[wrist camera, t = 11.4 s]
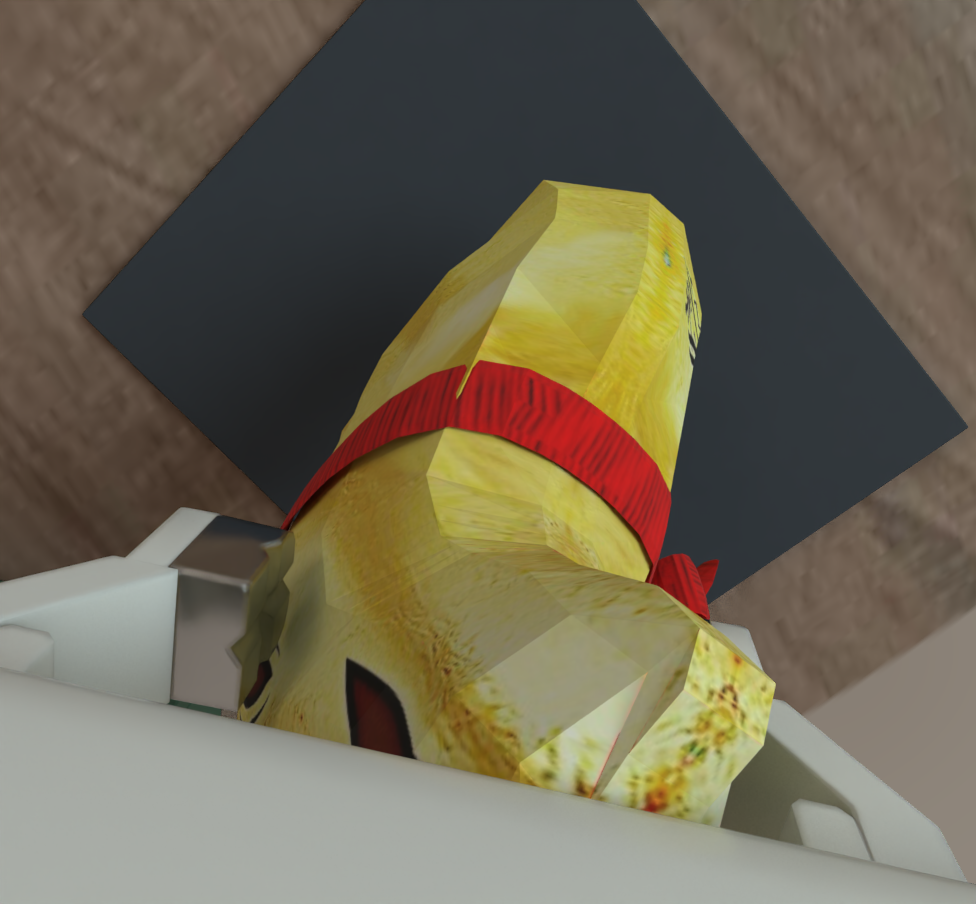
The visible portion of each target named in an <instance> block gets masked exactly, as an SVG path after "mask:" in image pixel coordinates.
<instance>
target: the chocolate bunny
mask: <svg viewBox="0 0 976 904" xmlns="http://www.w3.org/2000/svg"><path fill="white" fill-rule="evenodd" d="M701 317H702V313H701V308H700V303H699V298H698V293H697V288H696V283H695V278H694V273H693V268H692V263H691V258H690V253H689V248H688V243H687V238H686V233H685V228H684V224H683V223H682V222H681V221H680V220H679V219H678V218H676V217H675V216H674V215H673V214H672V213H671V212H670V211H669V210H668V209H666V208H665V207H664V206H663V205H662V204H661V203H660V202H659V201H658V200H657V199H655V198H654V197H653V196H652V195H651V194H646V193H639V192H631V191H624V190H616V189H609V188H601V187H594V186H586V185H578V184H571V183H563V182H556V181H548V180H543V181H542V182H541V183H540V184H539V185H538V187H537V188H536V189H535V190H534V191H533V192H532V193H531V194H530V196H529V197H528V198H527V199H526V200H525V201H524V202H523V203H522V205H521V206H520V207H519V208H518V209H517V210H516V211H515V212H514V214H513V215H512V216H511V217H510V218H509V219H508V220H507V221H506V223H505V224H504V225H503V226H502V227H501V228H500V229H499V230H498V232H497V233H496V234H495V235H494V236H493V237H492V238H491V239H490V240H489V241H488V242H487V243H486V244H484V245H483V246H482V247H480V248H479V249H478V250H476V251H475V252H474V253H472V254H471V255H470V256H469V257H467V258H466V259H465V260H463V261H462V262H461V263H459V264H458V265H457V266H455V267H454V268H453V269H451V270H450V271H449V272H448V273H447V274H446V275H445V277H444V278H443V279H442V280H441V282H440V283H439V284H438V285H437V287H436V288H435V289H434V290H433V292H432V293H431V294H430V295H429V297H428V298H427V299H426V300H425V302H424V303H423V304H422V305H421V307H420V308H419V309H418V310H417V312H416V313H415V314H414V315H413V317H412V318H411V319H410V320H409V322H408V323H407V324H406V325H405V327H404V328H403V329H402V330H401V332H400V333H399V334H398V335H397V337H396V338H395V339H394V340H393V342H392V343H391V344H390V345H389V347H388V348H387V349H386V350H385V352H384V353H383V354H382V356H381V358H380V360H379V362H378V364H377V366H376V368H375V370H374V372H373V374H372V375H371V377H370V379H369V381H368V383H367V385H366V387H365V389H364V391H363V393H362V395H361V397H360V400H359V403H358V405H357V408H356V410H355V413H354V415H353V416H352V418H351V419H350V420H349V422H348V423H347V425H346V426H345V427H344V429H343V430H342V432H341V436H340V440H339V443H338V445H337V446H336V448H335V450H334V452H333V453H332V455H331V456H330V457H329V458H328V459H327V460H326V462H325V463H324V464H323V465H322V466H321V467H320V469H319V470H318V471H317V473H316V474H315V475H314V476H313V478H312V479H311V480H310V482H309V483H308V484H307V486H306V487H305V488H304V490H303V491H302V493H301V495H300V496H299V498H298V499H297V501H296V502H295V504H294V505H293V507H292V509H291V511H290V512H289V514H288V516H287V517H286V519H285V521H284V523H283V524H282V526H281V528H280V529H284V530H289V527H290V524H291V522H292V520H293V518H294V516H295V515H296V514H297V512H298V511H299V510H300V509H301V510H300V512H299V514H298V515H297V517H296V519H295V521H294V522H293V524H292V526H291V529H290V531H292V532H294V536H295V551H294V563H293V564H292V566H291V567H290V569H289V570H288V572H287V573H286V575H285V576H284V578H283V580H284V582H285V584H286V586H287V588H288V589H289V591H290V597H289V604H288V611H287V615H286V620H285V624H284V628H283V630H282V633H281V636H280V639H279V641H278V644H277V647H276V648H275V650H274V652H273V654H272V655H271V657H270V659H269V660H267V661H264V662H262V663H259V667H258V676H257V681H256V682H255V684H254V686H253V687H252V689H251V691H250V692H249V694H248V695H247V697H246V699H245V700H244V702H243V704H242V705H241V707H240V709H239V710H238V714H237V720H241V721H245V722H249V723H254V724H258V725H263V726H267V727H272V728H276V729H281V730H285V731H290V732H294V733H299V734H303V735H308V736H312V737H317V738H321V739H326V740H330V741H335V742H339V743H344V744H348V745H353V746H357V747H362V748H366V749H371V750H375V751H380V752H384V753H388V754H393V755H397V756H402V757H406V758H411V759H415V760H420V761H424V762H429V763H433V764H438V765H442V766H447V767H451V768H456V769H460V770H465V771H469V772H474V773H478V774H483V775H487V776H492V777H496V778H501V779H505V780H510V781H514V782H519V783H523V784H528V785H532V786H537V787H541V788H546V789H550V790H555V791H559V792H564V793H568V794H573V795H577V796H582V797H586V798H590V799H595V800H599V801H604V802H608V803H613V804H617V805H622V806H626V807H631V808H635V809H640V810H644V811H649V812H653V813H658V814H662V815H667V816H671V817H676V818H680V819H685V820H689V821H694V822H698V823H703V824H707V825H712V826H716V827H720V824H721V820H722V817H723V813H724V809H725V805H726V801H727V797H728V793H729V789H730V786H731V782H732V781H733V780H734V779H735V777H736V776H737V775H738V774H739V773H740V772H741V771H742V770H743V768H744V767H745V766H746V765H747V764H748V763H749V762H750V760H751V759H752V758H753V757H754V756H755V755H756V754H757V752H758V751H759V750H760V749H761V748H762V747H763V746H764V741H765V736H766V731H767V726H768V721H769V715H770V710H771V705H772V700H773V695H774V690H775V685H776V683H775V682H774V681H772V680H771V679H770V678H769V677H768V676H767V675H766V674H765V673H764V672H763V671H762V670H761V669H760V668H759V667H758V666H757V665H756V664H755V663H754V662H753V661H752V660H751V659H750V658H749V657H747V656H746V655H745V654H744V653H743V652H742V651H741V650H740V649H739V648H738V647H737V646H736V645H735V644H734V643H733V642H732V641H731V640H730V639H729V638H728V637H727V636H725V635H724V634H723V633H721V632H720V631H718V630H717V629H716V628H714V627H713V626H712V625H710V624H709V623H708V622H706V621H705V620H704V619H708V620H709V619H710V615H709V610H708V604H707V599H706V594H707V592H708V591H709V589H710V587H711V586H712V584H713V581H714V578H715V574H716V571H717V568H718V564H719V560H717V559H715V560H710V561H707V562H704V563H702V564H701V565H700V566H698V567H697V568H696V567H695V565H694V563H693V562H692V560H691V559H690V557H689V556H687V555H685V554H672V555H670V556H667V557H665V558H662V559H660V560H658V559H659V556H660V552H661V548H662V544H663V540H664V536H665V532H666V528H667V523H668V518H669V512H670V507H671V493H670V492H671V486H672V481H673V475H674V470H675V465H676V459H677V454H678V448H679V443H680V437H681V432H682V426H683V421H684V416H685V410H686V405H687V399H688V393H689V388H690V382H691V377H692V371H693V365H694V360H695V354H696V348H697V343H698V338H699V335H700V330H701ZM301 507H302V508H301ZM702 618H703V619H702Z"/></svg>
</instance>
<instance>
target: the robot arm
mask: <svg viewBox="0 0 976 904" xmlns="http://www.w3.org/2000/svg"><path fill="white" fill-rule="evenodd" d="M294 551H295V536H294V532H292V531H288V530H284V529H279V528H275V527H271V526H267V525H262V524H258V523H254V522H250V521H245V520H241V519H237V518H232V517H228V516H224V515H220V514H219V513H214V512H208V511H203V510H197V509H192V508H185V507H181V508H179V509H178V510H177V511H176V512H174V513H173V514H172V515H171V516H170V517H169V518H168V519H167V520H166V521H165V522H163V523H162V524H161V525H160V526H159V527H158V528H157V529H156V530H155V531H153V532H152V533H151V534H150V535H149V536H148V537H147V538H146V539H145V540H144V541H142V542H141V543H140V544H139V545H138V546H137V547H136V548H135V549H134V550H133V551H131V552H130V553H129V554H128V555H127V556H126V557H125V558H124V557H119V556H114V555H113V556H109V557H104V558H100V559H96V560H92V561H88V562H84V563H80V564H75V565H71V566H67V567H63V568H59V569H55V570H51V571H46V572H42V573H38V574H34V575H30V576H26V577H22V578H17V579H13V580H9V581H5V582H1V583H0V904H976V884H972V883H968V882H967V880H966V879H965V877H964V875H963V873H962V871H961V869H960V867H959V865H958V863H957V861H956V859H955V857H954V855H953V853H952V851H951V850H950V848H949V846H948V844H947V842H946V840H945V838H944V836H943V834H942V832H941V830H940V828H939V827H938V826H937V825H935V824H934V823H933V822H932V821H930V820H929V819H928V818H927V817H926V816H924V815H923V814H922V813H921V812H919V811H918V810H917V809H916V808H915V807H913V806H912V805H911V804H909V803H908V802H907V801H906V800H905V799H903V798H902V797H901V796H900V795H899V794H897V793H896V792H895V791H894V790H892V789H891V788H890V787H889V786H888V785H886V784H885V783H884V782H883V781H881V780H880V779H879V778H878V777H877V776H875V775H874V774H873V773H871V772H870V771H869V770H868V769H867V768H866V767H864V766H863V765H862V764H861V763H859V762H858V761H857V760H856V759H854V758H853V757H852V756H851V755H850V754H848V753H847V752H846V751H845V750H843V749H842V748H841V747H840V746H839V745H837V744H836V743H835V742H834V741H832V740H831V739H830V738H829V737H827V736H826V735H825V734H824V733H823V732H821V731H820V730H819V729H818V728H816V727H815V726H814V725H813V724H812V723H810V722H809V721H808V720H807V719H805V718H804V717H803V716H802V715H801V714H799V713H798V712H797V711H796V710H794V709H793V708H792V707H791V706H790V705H788V704H787V703H786V702H784V701H780V700H776V699H773V700H772V705H771V710H770V715H769V721H768V726H767V731H766V736H765V741H764V746H763V747H762V748H761V749H760V750H759V751H758V752H757V754H756V755H755V756H754V757H753V758H752V759H751V760H750V762H749V763H748V764H747V765H746V766H745V767H744V768H743V770H742V771H741V772H740V773H739V774H738V775H737V776H736V777H735V779H734V780H733V781H732V782H731V786H730V789H729V793H728V797H727V801H726V805H725V809H724V813H723V817H722V820H721V824H720V827H716V826H712V825H707V824H703V823H698V822H694V821H689V820H685V819H680V818H676V817H671V816H667V815H662V814H658V813H653V812H649V811H644V810H640V809H635V808H631V807H626V806H622V805H617V804H613V803H608V802H604V801H599V800H595V799H590V798H586V797H582V796H577V795H573V794H568V793H564V792H559V791H555V790H550V789H546V788H541V787H537V786H532V785H528V784H523V783H519V782H514V781H510V780H505V779H501V778H496V777H492V776H487V775H483V774H478V773H474V772H469V771H465V770H460V769H456V768H451V767H447V766H442V765H438V764H433V763H429V762H424V761H420V760H415V759H411V758H406V757H402V756H397V755H393V754H388V753H384V752H380V751H375V750H371V749H366V748H362V747H357V746H353V745H348V744H344V743H339V742H335V741H330V740H326V739H321V738H317V737H312V736H308V735H303V734H299V733H294V732H290V731H285V730H281V729H276V728H272V727H267V726H263V725H258V724H254V723H249V722H245V721H241V720H236V719H232V718H227V717H223V716H218V715H214V714H209V713H205V712H200V711H196V710H191V709H187V708H182V707H178V706H173V705H169V704H167V703H169V702H170V699H173V700H178V701H183V702H188V703H193V704H199V705H204V706H209V707H214V708H219V709H225V710H230V711H235V712H238V710H239V709H240V707H241V705H242V704H243V702H244V700H245V699H246V697H247V695H248V694H249V692H250V691H251V689H252V687H253V686H254V684H255V682H256V681H257V676H258V667H259V663H262V662H264V661H267V660H269V659H270V657H271V655H272V654H273V652H274V650H275V648H276V647H277V644H278V641H279V639H280V636H281V633H282V630H283V628H284V624H285V620H286V615H287V611H288V604H289V597H290V591H289V589H288V588H287V586H286V584H285V582H284V580H283V578H284V576H285V575H286V573H287V572H288V570H289V569H290V567H291V566H292V564H293V563H294ZM702 619H703V618H702ZM704 620H705V621H706V622H708V623H709V624H710V625H712V626H713V627H714V628H716V629H717V630H718V631H720V632H721V633H723V634H724V635H725V636H727V637H728V638H729V639H730V640H731V641H732V642H733V643H734V644H735V645H736V646H737V647H738V648H739V649H740V650H741V651H742V652H743V653H744V654H745V655H746V656H747V657H749V658H750V659H751V660H752V661H753V662H754V663H755V664H756V665H757V666H758V667H759V668H760V669H761V670H762V671H763V669H762V666H761V663H760V661H759V658H758V655H757V652H756V649H755V647H754V644H753V641H752V638H751V635H750V633H749V630H748V629H746V628H745V627H744V626H738V625H733V624H727V623H721V622H715V621H709V620H708V619H704Z"/></svg>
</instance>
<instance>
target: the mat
mask: <svg viewBox="0 0 976 904" xmlns="http://www.w3.org/2000/svg"><path fill="white" fill-rule="evenodd" d="M543 180H548V181H556V182H563V183H571V184H578V185H586V186H594V187H601V188H609V189H616V190H624V191H631V192H639V193H646V194H651V195H652V196H653V197H654V198H655V199H657V200H658V201H659V202H660V203H661V204H662V205H663V206H664V207H665V208H666V209H668V210H669V211H670V212H671V213H672V214H673V215H674V216H675V217H676V218H678V219H679V220H680V221H681V222H682V223H683V224H684V228H685V233H686V238H687V243H688V248H689V253H690V258H691V263H692V268H693V273H694V278H695V283H696V288H697V293H698V298H699V303H700V308H701V313H702V317H701V330H700V335H699V338H698V343H697V348H696V354H695V360H694V365H693V371H692V377H691V382H690V388H689V393H688V399H687V405H686V410H685V416H684V421H683V426H682V432H681V437H680V443H679V448H678V454H677V459H676V465H675V470H674V475H673V481H672V486H671V492H670V493H671V507H670V512H669V518H668V523H667V528H666V532H665V536H664V540H663V544H662V548H661V552H660V556H659V559H658V560H660V559H662V558H665V557H667V556H670V555H672V554H685V555H687V556H689V557H690V559H691V560H692V562H693V563H694V565H695V567H696V568H697V567H698V566H700V565H701V564H702V563H704V562H707V561H710V560H715V559H717V560H719V564H718V568H717V571H716V574H715V578H714V581H713V584H712V586H711V587H710V589H709V591H708V592H707V594H706V599H707V604H709V603H711V602H712V601H714V600H715V599H717V598H718V597H720V596H721V595H723V594H724V593H726V592H727V591H729V590H730V589H732V588H733V587H734V586H736V585H737V584H739V583H740V582H742V581H743V580H745V579H746V578H748V577H749V576H751V575H752V574H754V573H755V572H757V571H758V570H759V569H761V568H762V567H764V566H765V565H767V564H768V563H770V562H771V561H773V560H774V559H776V558H777V557H779V556H780V555H782V554H783V553H784V552H786V551H787V550H789V549H790V548H792V547H793V546H795V545H796V544H798V543H799V542H801V541H802V540H804V539H805V538H807V537H808V536H809V535H811V534H812V533H814V532H815V531H817V530H818V529H820V528H821V527H823V526H824V525H826V524H827V523H829V522H830V521H832V520H833V519H834V518H836V517H837V516H839V515H840V514H842V513H843V512H845V511H846V510H848V509H849V508H851V507H852V506H854V505H855V504H857V503H858V502H859V501H861V500H862V499H864V498H865V497H867V496H868V495H870V494H871V493H873V492H874V491H876V490H877V489H879V488H880V487H882V486H883V485H884V484H886V483H887V482H889V481H890V480H892V479H893V478H895V477H896V476H898V475H899V474H901V473H902V472H904V471H905V470H907V469H908V468H909V467H911V466H912V465H914V464H915V463H917V462H918V461H920V460H921V459H923V458H924V457H926V456H927V455H929V454H930V453H932V452H933V451H934V450H936V449H937V448H939V447H940V446H942V445H943V444H945V443H946V442H948V441H949V440H951V439H952V438H954V437H955V436H957V435H958V434H959V433H961V432H962V431H964V430H965V429H967V428H968V426H967V424H966V423H965V422H964V420H963V419H962V418H961V417H960V415H959V414H958V413H957V411H956V410H955V409H954V408H953V406H952V405H951V404H950V402H949V401H948V400H947V399H946V397H945V396H944V395H943V393H942V392H941V391H940V390H939V388H938V387H937V386H936V384H935V383H934V382H933V381H932V379H931V378H930V377H929V375H928V374H927V373H926V372H925V370H924V369H923V368H922V366H921V365H920V364H919V363H918V361H917V360H916V359H915V357H914V356H913V355H912V354H911V352H910V351H909V350H908V349H907V347H906V346H905V345H904V343H903V342H902V341H901V340H900V338H899V337H898V336H897V334H896V333H895V332H894V331H893V329H892V328H891V327H890V325H889V324H888V323H887V322H886V320H885V319H884V318H883V316H882V315H881V314H880V313H879V311H878V310H877V309H876V307H875V306H874V305H873V304H872V302H871V301H870V300H869V298H868V297H867V296H866V295H865V293H864V292H863V291H862V289H861V288H860V287H859V286H858V284H857V283H856V282H855V280H854V279H853V278H852V277H851V275H850V274H849V273H848V271H847V270H846V269H845V268H844V266H843V265H842V264H841V263H840V261H839V260H838V259H837V257H836V256H835V255H834V254H833V252H832V251H831V250H830V248H829V247H828V246H827V245H826V243H825V242H824V241H823V239H822V238H821V237H820V236H819V234H818V233H817V232H816V230H815V229H814V228H813V227H812V225H811V224H810V223H809V221H808V220H807V219H806V218H805V216H804V215H803V214H802V212H801V211H800V210H799V209H798V207H797V206H796V205H795V203H794V202H793V201H792V200H791V198H790V197H789V196H788V194H787V193H786V192H785V191H784V189H783V188H782V187H781V185H780V184H779V183H778V182H777V180H776V179H775V178H774V176H773V175H772V174H771V173H770V171H769V170H768V169H767V168H766V166H765V165H764V164H763V162H762V161H761V160H760V159H759V157H758V156H757V155H756V153H755V152H754V151H753V150H752V148H751V147H750V146H749V144H748V143H747V142H746V141H745V139H744V138H743V137H742V135H741V134H740V133H739V132H738V130H737V129H736V128H735V126H734V125H733V124H732V123H731V121H730V120H729V119H728V117H727V116H726V115H725V114H724V112H723V111H722V110H721V108H720V107H719V106H718V105H717V103H716V102H715V101H714V99H713V98H712V97H711V96H710V94H709V93H708V92H707V90H706V89H705V88H704V87H703V85H702V84H701V83H700V82H699V80H698V79H697V78H696V76H695V75H694V74H693V73H692V71H691V70H690V69H689V67H688V66H687V65H686V64H685V62H684V61H683V60H682V58H681V57H680V56H679V55H678V53H677V52H676V51H675V49H674V48H673V47H672V46H671V44H670V43H669V42H668V40H667V39H666V38H665V37H664V35H663V34H662V33H661V31H660V30H659V29H658V28H657V26H656V25H655V24H654V22H653V21H652V20H651V19H650V17H649V16H648V15H647V13H646V12H645V11H644V10H643V8H642V7H641V6H640V4H639V3H638V2H637V1H636V0H365V1H364V2H363V3H362V4H361V5H360V6H359V8H358V9H357V10H356V11H355V12H354V13H353V14H352V15H351V16H350V18H349V19H348V20H347V21H346V22H345V23H344V24H343V25H342V26H341V28H340V29H339V30H338V31H337V32H336V33H335V34H334V35H333V36H332V38H331V39H330V40H329V41H328V42H327V43H326V44H325V45H324V46H323V47H322V49H321V50H320V51H319V52H318V53H317V54H316V55H315V56H314V57H313V59H312V60H311V61H310V62H309V63H308V64H307V65H306V66H305V67H304V69H303V70H302V71H301V72H300V73H299V74H298V75H297V76H296V77H295V79H294V80H293V81H292V82H291V83H290V84H289V85H288V86H287V87H286V89H285V90H284V91H283V92H282V93H281V94H280V95H279V96H278V97H277V99H276V100H275V101H274V102H273V103H272V104H271V105H270V106H269V107H268V109H267V110H266V111H265V112H264V113H263V114H262V115H261V116H260V117H259V118H258V120H257V121H256V122H255V123H254V124H253V125H252V126H251V127H250V128H249V130H248V131H247V132H246V133H245V134H244V135H243V136H242V137H241V138H240V140H239V141H238V142H237V143H236V144H235V145H234V146H233V147H232V148H231V150H230V151H229V152H228V153H227V154H226V155H225V156H224V157H223V158H222V160H221V161H220V162H219V163H218V164H217V165H216V166H215V167H214V168H213V170H212V171H211V172H210V173H209V174H208V175H207V176H206V177H205V178H204V180H203V181H202V182H201V183H200V184H199V185H198V186H197V187H196V188H195V190H194V191H193V192H192V193H191V194H190V195H189V196H188V197H187V198H186V199H185V201H184V202H183V203H182V204H181V205H180V206H179V207H178V208H177V209H176V211H175V212H174V213H173V214H172V215H171V216H170V217H169V218H168V219H167V221H166V222H165V223H164V224H163V225H162V226H161V227H160V228H159V229H158V231H157V232H156V233H155V234H154V235H153V236H152V237H151V238H150V239H149V241H148V242H147V243H146V244H145V245H144V246H143V247H142V248H141V249H140V251H139V252H138V253H137V254H136V255H135V256H134V257H133V258H132V259H131V261H130V262H129V263H128V264H127V265H126V266H125V267H124V268H123V269H122V270H121V272H120V273H119V274H118V275H117V276H116V277H115V278H114V279H113V280H112V282H111V283H110V284H109V285H108V286H107V287H106V288H105V289H104V290H103V292H102V293H101V294H100V295H99V296H98V297H97V298H96V299H95V300H94V302H93V303H92V304H91V305H90V306H89V307H88V308H87V309H86V310H85V312H84V313H83V314H82V315H83V316H84V317H85V318H86V319H87V320H88V321H89V322H90V323H91V324H92V325H93V326H94V327H95V328H96V329H97V330H98V331H99V332H100V333H101V334H102V335H103V336H104V337H105V338H106V339H107V340H108V341H109V342H110V343H111V344H112V345H114V346H115V347H116V348H117V349H118V350H119V351H120V352H121V353H122V354H123V355H124V356H125V357H126V358H127V359H128V360H129V361H130V362H131V363H132V364H133V365H134V366H135V367H136V368H137V369H138V370H139V371H140V372H141V373H142V374H143V375H144V376H145V377H146V378H147V379H148V380H149V381H150V382H151V383H152V384H153V385H154V386H155V387H157V388H158V389H159V390H160V391H161V392H162V393H163V394H164V395H165V396H166V397H167V398H168V399H169V400H170V401H171V402H172V403H173V404H174V405H175V406H176V407H177V408H178V409H179V410H180V411H181V412H182V413H183V414H184V415H185V416H186V417H187V418H188V419H189V420H190V421H191V422H192V423H193V424H194V425H195V426H196V427H197V428H198V429H200V430H201V431H202V432H203V433H204V434H205V435H206V436H207V437H208V438H209V439H210V440H211V441H212V442H213V443H214V444H215V445H216V446H217V447H218V448H219V449H220V450H221V451H222V452H223V453H224V454H225V455H226V456H227V457H228V458H229V459H230V460H231V461H232V462H233V463H234V464H235V465H236V466H237V467H238V468H239V469H240V470H242V471H243V472H244V473H245V474H246V475H247V476H248V477H249V478H250V479H251V480H252V481H253V482H254V483H255V484H256V485H257V486H258V487H259V488H260V489H261V490H262V491H263V492H264V493H265V494H266V495H267V496H268V497H269V498H270V499H271V500H272V501H273V502H274V503H275V504H276V505H277V506H278V507H279V508H280V509H281V510H282V511H283V512H285V513H286V514H287V515H288V514H289V512H290V511H291V509H292V507H293V505H294V504H295V502H296V501H297V499H298V498H299V496H300V495H301V493H302V491H303V490H304V488H305V487H306V486H307V484H308V483H309V482H310V480H311V479H312V478H313V476H314V475H315V474H316V473H317V471H318V470H319V469H320V467H321V466H322V465H323V464H324V463H325V462H326V460H327V459H328V458H329V457H330V456H331V455H332V453H333V452H334V450H335V448H336V446H337V445H338V443H339V440H340V436H341V432H342V430H343V429H344V427H345V426H346V425H347V423H348V422H349V420H350V419H351V418H352V416H353V415H354V413H355V410H356V408H357V405H358V403H359V400H360V397H361V395H362V393H363V391H364V389H365V387H366V385H367V383H368V381H369V379H370V377H371V375H372V374H373V372H374V370H375V368H376V366H377V364H378V362H379V360H380V358H381V356H382V354H383V353H384V352H385V350H386V349H387V348H388V347H389V345H390V344H391V343H392V342H393V340H394V339H395V338H396V337H397V335H398V334H399V333H400V332H401V330H402V329H403V328H404V327H405V325H406V324H407V323H408V322H409V320H410V319H411V318H412V317H413V315H414V314H415V313H416V312H417V310H418V309H419V308H420V307H421V305H422V304H423V303H424V302H425V300H426V299H427V298H428V297H429V295H430V294H431V293H432V292H433V290H434V289H435V288H436V287H437V285H438V284H439V283H440V282H441V280H442V279H443V278H444V277H445V275H446V274H447V273H448V272H449V271H450V270H451V269H453V268H454V267H455V266H457V265H458V264H459V263H461V262H462V261H463V260H465V259H466V258H467V257H469V256H470V255H471V254H472V253H474V252H475V251H476V250H478V249H479V248H480V247H482V246H483V245H484V244H486V243H487V242H488V241H489V240H490V239H491V238H492V237H493V236H494V235H495V234H496V233H497V232H498V230H499V229H500V228H501V227H502V226H503V225H504V224H505V223H506V221H507V220H508V219H509V218H510V217H511V216H512V215H513V214H514V212H515V211H516V210H517V209H518V208H519V207H520V206H521V205H522V203H523V202H524V201H525V200H526V199H527V198H528V197H529V196H530V194H531V193H532V192H533V191H534V190H535V189H536V188H537V187H538V185H539V184H540V183H541V182H542V181H543ZM301 508H302V507H301ZM300 510H301V509H300ZM300 510H299V511H298V512H297V514H296V515H295V516H294V518H293V521H295V519H296V517H297V515H298V514H299V512H300Z"/></svg>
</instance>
